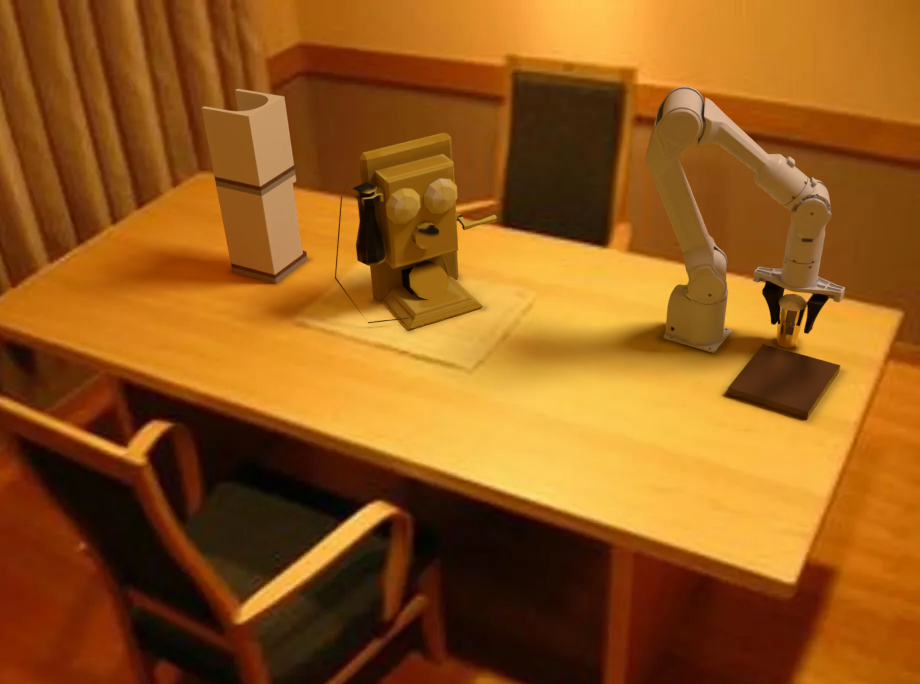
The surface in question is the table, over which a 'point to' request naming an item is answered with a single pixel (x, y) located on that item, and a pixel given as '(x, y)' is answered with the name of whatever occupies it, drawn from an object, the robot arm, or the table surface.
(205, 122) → the scooped banded pillar
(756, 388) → the board
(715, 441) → the table surface
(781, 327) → the milkshake
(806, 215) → the robot arm
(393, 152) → the vintage telephone
